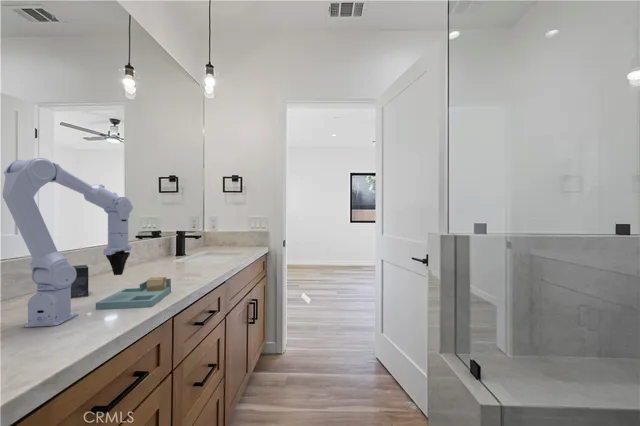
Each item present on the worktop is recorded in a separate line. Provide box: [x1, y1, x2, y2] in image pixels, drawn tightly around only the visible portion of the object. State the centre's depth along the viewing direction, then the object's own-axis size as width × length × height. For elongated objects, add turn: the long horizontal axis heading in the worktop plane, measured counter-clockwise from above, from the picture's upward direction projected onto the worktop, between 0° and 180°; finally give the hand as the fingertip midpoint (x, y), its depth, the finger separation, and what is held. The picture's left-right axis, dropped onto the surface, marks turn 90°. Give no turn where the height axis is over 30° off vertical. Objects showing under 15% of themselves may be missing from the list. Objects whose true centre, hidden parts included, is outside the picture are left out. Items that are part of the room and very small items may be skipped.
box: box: [71, 264, 89, 299], centre depth 118 cm, size 8×6×11 cm
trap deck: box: [95, 278, 172, 311], centre depth 110 cm, size 20×16×5 cm
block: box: [146, 276, 167, 291], centre depth 117 cm, size 5×5×4 cm
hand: (118, 274), depth 107 cm, fingers closed
